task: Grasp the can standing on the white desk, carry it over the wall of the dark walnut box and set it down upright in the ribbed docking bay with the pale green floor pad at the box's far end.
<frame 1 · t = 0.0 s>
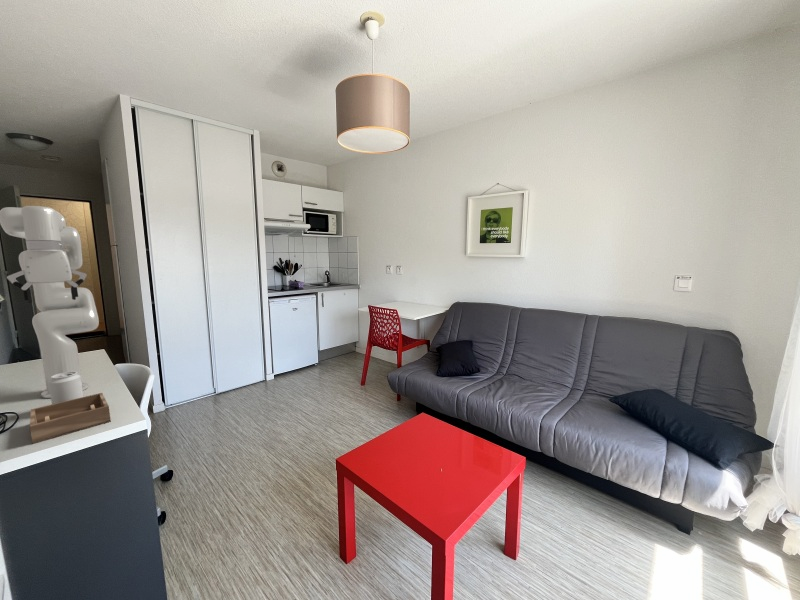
hand: (53, 300, 104), 37 cm above the table, tool pointing down, fingers open, 9 cm apart
can: (69, 408, 110), on the table
walnut box: (72, 423, 99), on the table
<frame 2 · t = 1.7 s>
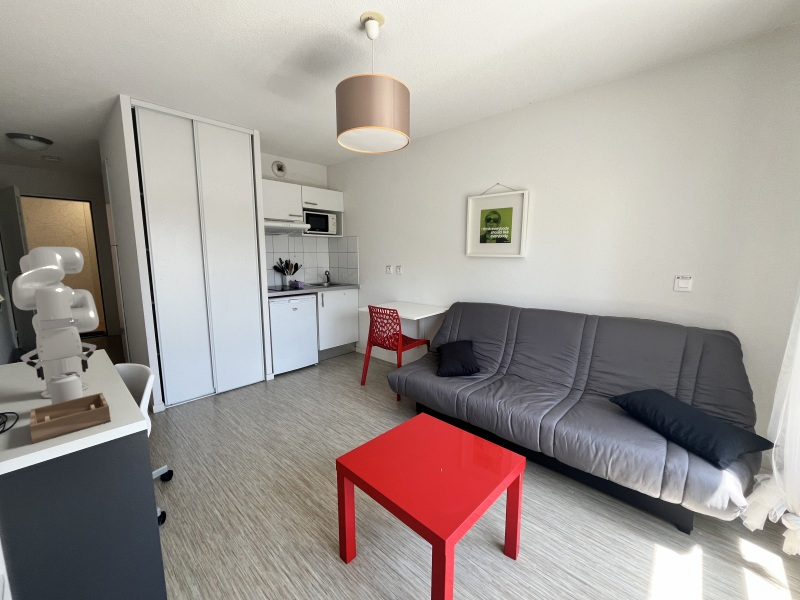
hand: (64, 375, 108), 12 cm above the table, tool pointing down, fingers open, 9 cm apart
nothing on the table moved.
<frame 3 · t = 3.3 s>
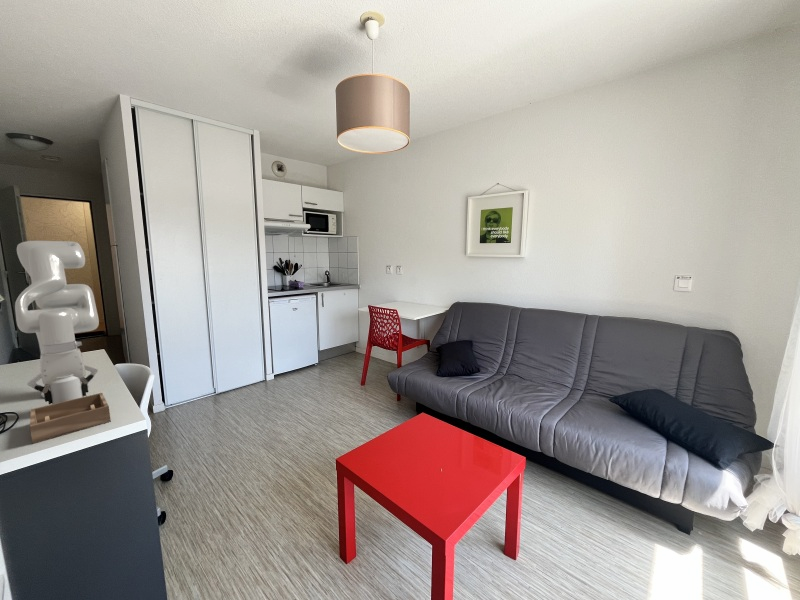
hand: (67, 398, 110), 3 cm above the table, tool pointing down, fingers closed on can, 7 cm apart
can: (69, 408, 110), on the table, touching gripper
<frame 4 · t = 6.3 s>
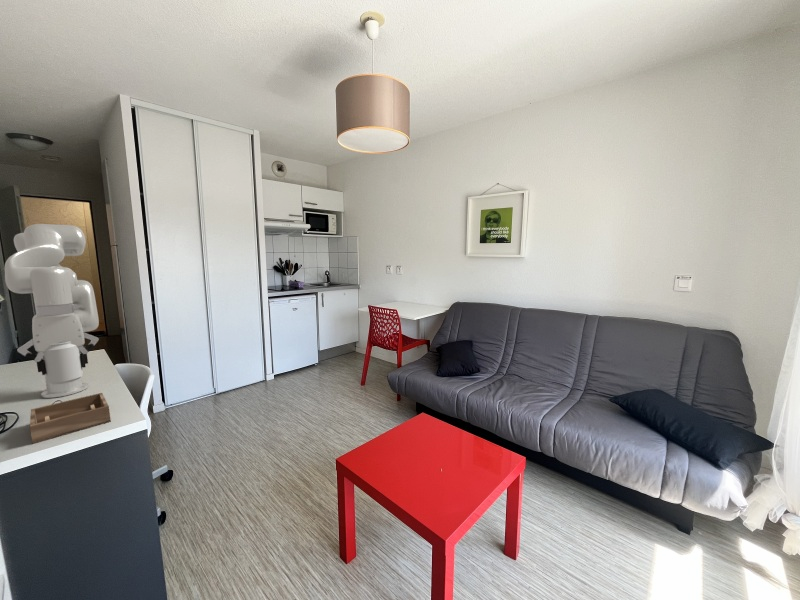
hand: (64, 369, 96), 17 cm above the table, tool pointing down, fingers closed on can, 7 cm apart
can: (66, 381, 96), point 14 cm above the table, touching gripper
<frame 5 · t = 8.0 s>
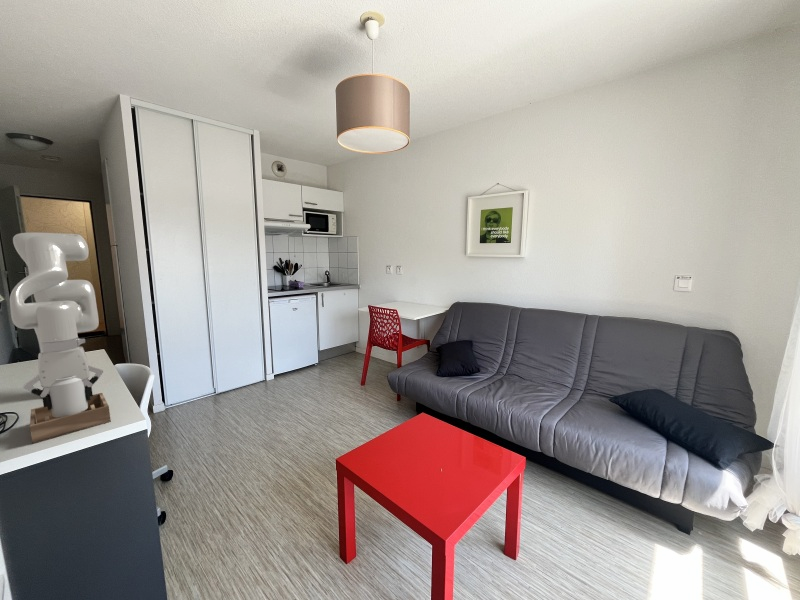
hand: (69, 403, 97), 7 cm above the table, tool pointing down, fingers closed on can, 7 cm apart
can: (71, 414, 97), point 4 cm above the table, touching gripper
when the fingers open (5 cm above the table, at t = 9.4 s): can drops 1 cm, resting on walnut box.
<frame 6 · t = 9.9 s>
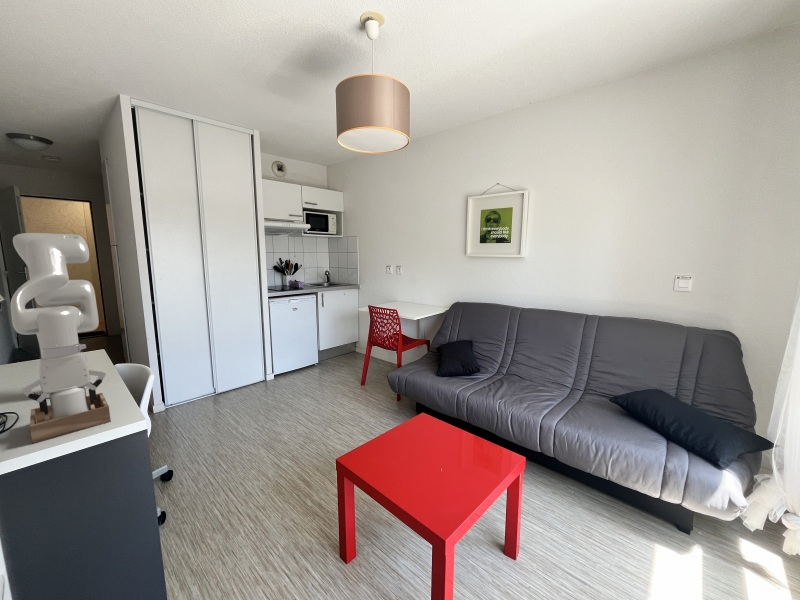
hand: (70, 407, 97), 6 cm above the table, tool pointing down, fingers open, 9 cm apart
can: (72, 424, 98), point 1 cm above the table, touching walnut box
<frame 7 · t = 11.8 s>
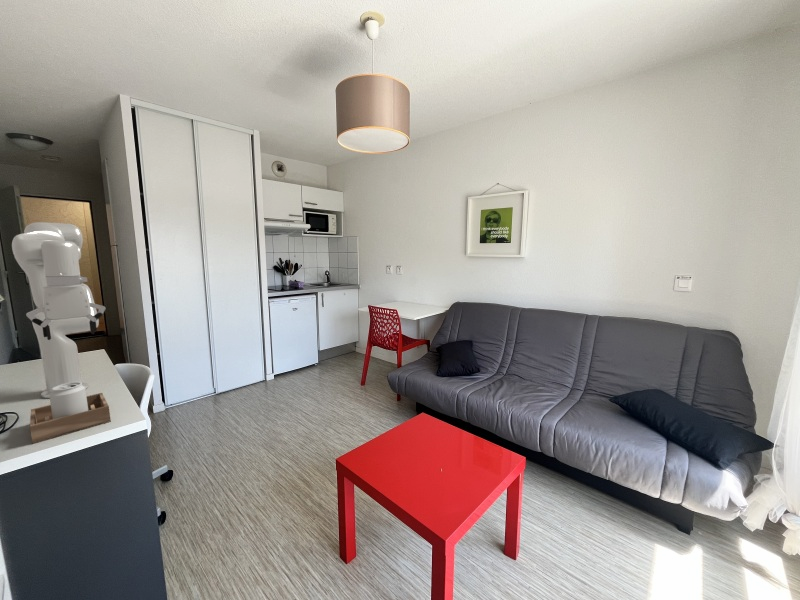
hand: (71, 336, 102), 26 cm above the table, tool pointing down, fingers open, 9 cm apart
nothing on the table moved.
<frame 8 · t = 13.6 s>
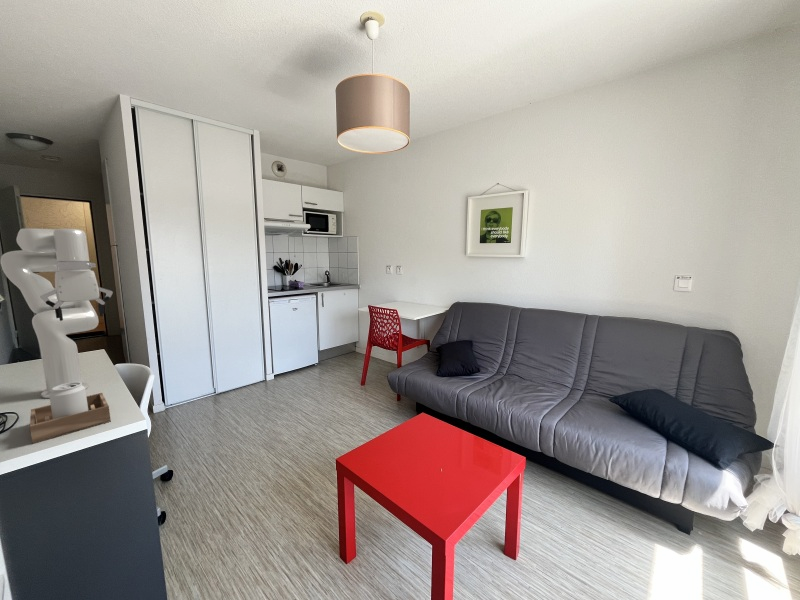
hand: (81, 318, 109), 30 cm above the table, tool pointing down, fingers open, 9 cm apart
nothing on the table moved.
at the end: can 0.2 cm from the target spot, point 0.5 cm above the table; can tilted 0°; the gripper is holding nothing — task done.
